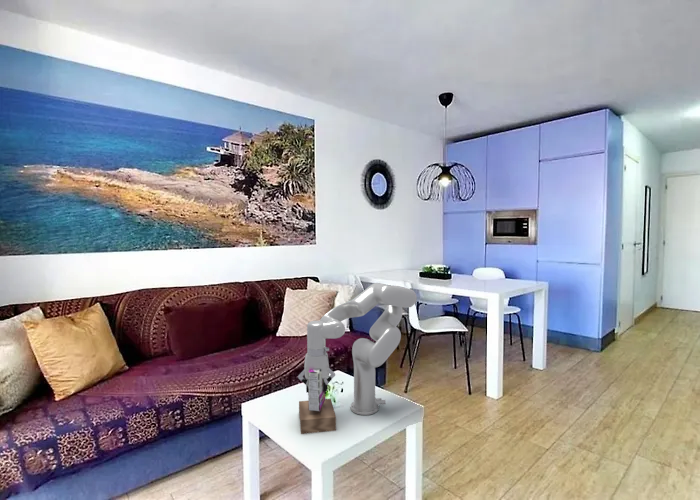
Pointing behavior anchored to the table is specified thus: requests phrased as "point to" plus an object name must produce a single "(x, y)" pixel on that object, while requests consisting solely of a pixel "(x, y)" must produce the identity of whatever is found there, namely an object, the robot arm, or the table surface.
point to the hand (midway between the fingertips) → (316, 392)
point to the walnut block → (317, 418)
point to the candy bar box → (315, 389)
